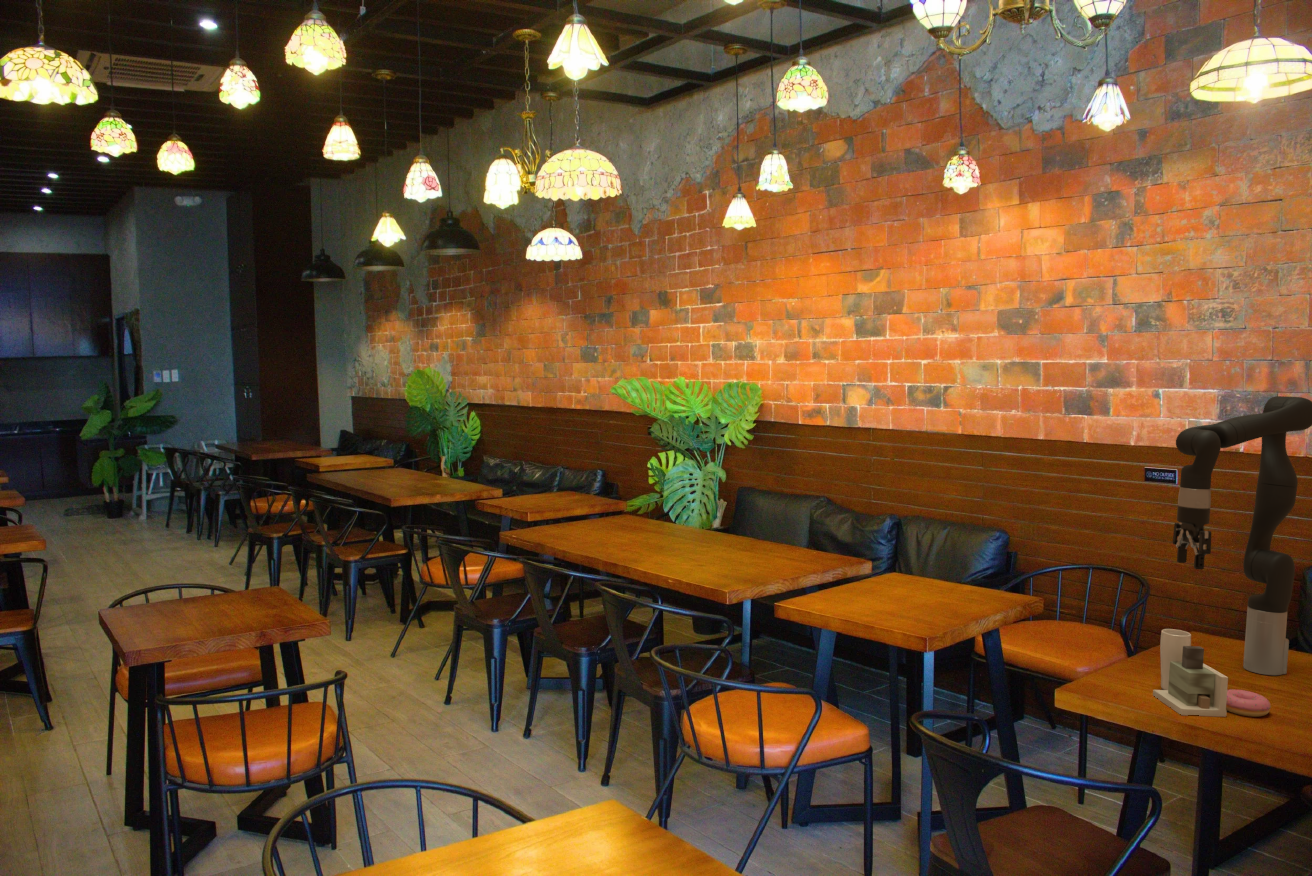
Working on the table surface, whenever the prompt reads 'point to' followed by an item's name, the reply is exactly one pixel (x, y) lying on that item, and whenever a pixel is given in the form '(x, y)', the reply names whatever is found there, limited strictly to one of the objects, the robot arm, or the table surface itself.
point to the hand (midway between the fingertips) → (1189, 565)
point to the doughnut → (1247, 703)
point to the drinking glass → (1171, 651)
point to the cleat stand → (1200, 699)
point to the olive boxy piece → (1191, 677)
